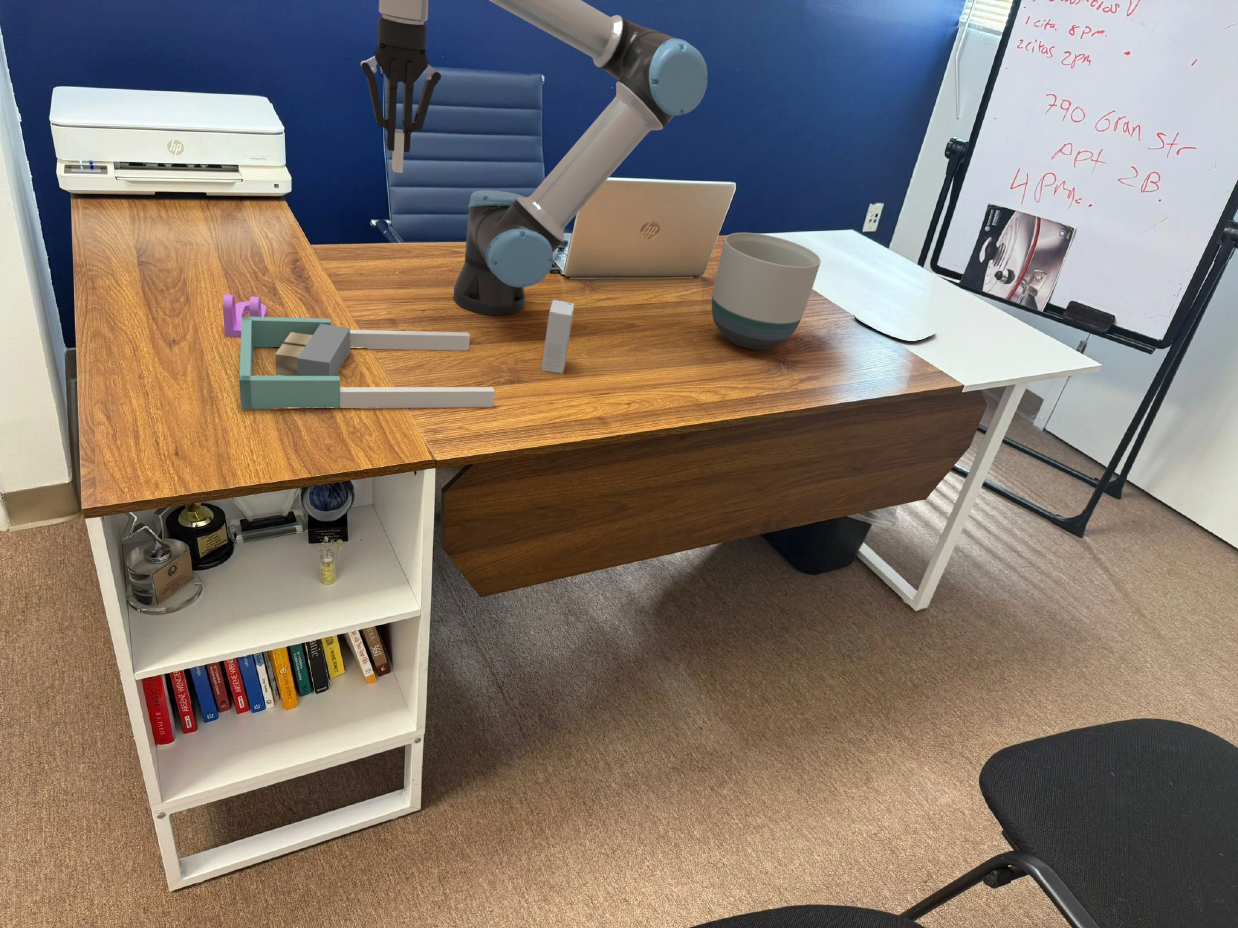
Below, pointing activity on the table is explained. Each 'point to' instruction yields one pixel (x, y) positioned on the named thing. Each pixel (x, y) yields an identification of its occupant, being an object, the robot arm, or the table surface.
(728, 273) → the planter
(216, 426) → the table surface
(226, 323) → the bracket
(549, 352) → the skincare box
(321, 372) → the block
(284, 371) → the chip
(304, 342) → the chip
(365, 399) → the channel
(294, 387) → the bay
